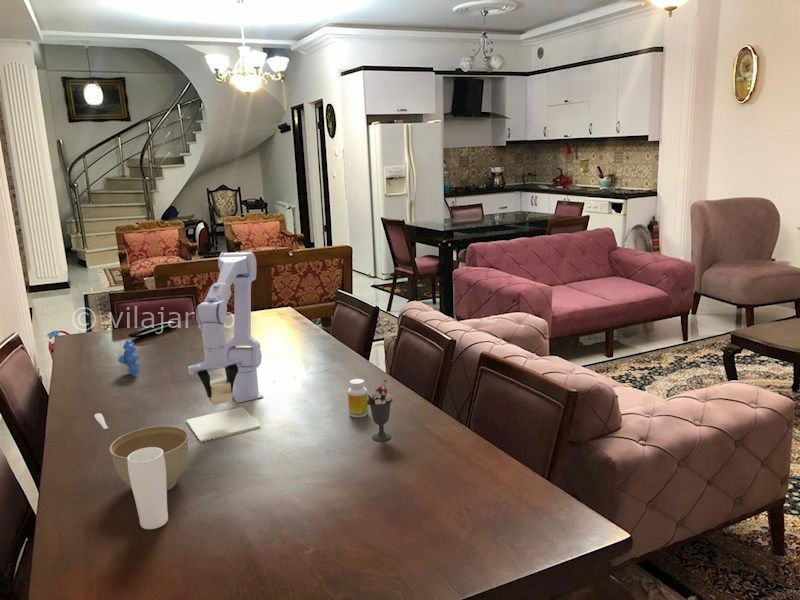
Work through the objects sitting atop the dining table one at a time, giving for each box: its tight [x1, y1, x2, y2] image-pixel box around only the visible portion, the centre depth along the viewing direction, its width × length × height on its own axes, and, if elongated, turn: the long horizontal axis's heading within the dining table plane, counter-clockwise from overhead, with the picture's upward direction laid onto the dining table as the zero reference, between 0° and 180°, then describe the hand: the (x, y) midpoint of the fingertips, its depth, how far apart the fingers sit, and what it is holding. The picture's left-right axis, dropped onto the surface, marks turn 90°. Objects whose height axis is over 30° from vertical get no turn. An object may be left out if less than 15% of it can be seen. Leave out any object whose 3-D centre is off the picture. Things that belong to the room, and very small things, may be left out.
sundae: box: [367, 379, 394, 442], centre depth 162 cm, size 7×7×15 cm
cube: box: [208, 377, 233, 406], centre depth 173 cm, size 5×5×5 cm
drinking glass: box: [127, 447, 169, 530], centre depth 127 cm, size 7×7×15 cm
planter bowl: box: [109, 425, 189, 492], centre depth 142 cm, size 16×16×11 cm
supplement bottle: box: [347, 378, 369, 418], centre depth 178 cm, size 5×5×10 cm
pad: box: [185, 406, 261, 443], centre depth 175 cm, size 16×16×1 cm
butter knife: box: [93, 412, 109, 430], centre depth 175 cm, size 1×27×3 cm
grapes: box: [117, 339, 140, 377], centre depth 218 cm, size 12×7×12 cm, turn 33°
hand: (219, 394), depth 173 cm, fingers closed on cube, 5 cm apart
